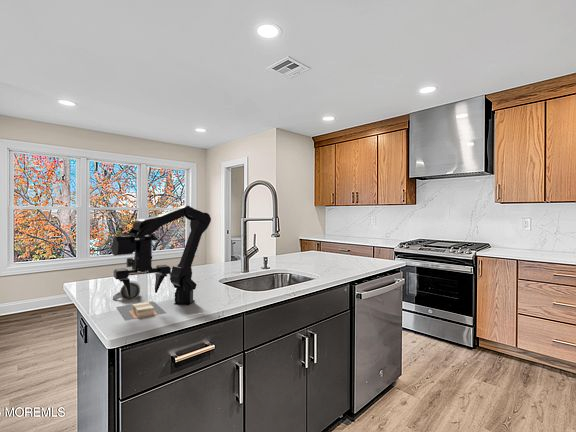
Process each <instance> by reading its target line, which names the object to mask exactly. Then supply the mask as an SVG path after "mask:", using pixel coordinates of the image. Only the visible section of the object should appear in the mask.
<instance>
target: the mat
mask: <svg viewBox="0 0 576 432" xmlns="http://www.w3.org/2000/svg"><path fill="white" fill-rule="evenodd" d="M148 302H149V303H150V304H151V305H152V306H153V307H154V314H152V315H146V316H141V317H137V315H136V314H135V313H134V312H133V303H132V304H126V305H119V306H115V307H116V310H117V311H118V312H119V314H120V315H121V317H122V318H123V320H124V321H125V322H126V321H131V320H135V319H141V318H146V317H151V316H152V317H153V316H158V315H162V314H167V312H166V311H165V310H164V309H163V308H161V306H159V305H158V304H157V303H156V301H154V300H153V301H148Z"/></svg>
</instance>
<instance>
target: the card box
mask: <svg viewBox="0 0 576 432" xmlns="http://www.w3.org/2000/svg"><path fill="white" fill-rule="evenodd" d="M149 302H150V301H144V302H140V303H134V304H133V303H132V304H133V312H134V313H135V314H136V315H137V317H141V316H146V315H152V314H154V307H153V306H152V305H151V304H150V303H149Z"/></svg>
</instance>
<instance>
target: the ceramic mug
mask: <svg viewBox="0 0 576 432" xmlns="http://www.w3.org/2000/svg"><path fill="white" fill-rule="evenodd" d="M140 293H141V286H140V284H139V282H138V281H136V280H130V297H129V296H128V294H127V291H126V288H125V285H124V284H123V285H122V286H121V288H120V291H119V292H117V293H116V294H114V295H113V296H112V299H113V300H115V301H116V300H117V301H118V300H119V299H121V298H122V299H123V300H125V301H129V299H132V300H136V299H137V298H138V297H140V296H139V295H140Z"/></svg>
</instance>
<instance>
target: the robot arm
mask: <svg viewBox="0 0 576 432" xmlns="http://www.w3.org/2000/svg"><path fill="white" fill-rule="evenodd" d="M182 218H186V219H187V220H189V227H190V228H189V229H190V232H189V235H188V238H187V240H186V243H185V247H184V249H183V252H182V255H181V258H180V260H179V262H178V264H177V265H176V266H175V265H172V267H170V266H169V265H167V264H157V265H156V267H152V265H153V264H152V261H153V256H152V255H153V247H152V246H153V244H152V243H153V241H158V238H157V237H156V236H155V235H154V234H153V233H155V232H157V231H158V230H159V229H160V228H161V227H162V226H164V225H167V224H170V223H172V222H175V221H177V220H180V219H182ZM211 221H212V218H211V215H210V214H209V213H208V212H202V211H200V210H199V209H195V208H193V207H192V206H190V205H181V206H178V207H177V208H174V209H172V210H169V211H167V212H163V213H161V214H158V215H155V216H150V217H142V218H138V219H136V220H134V222H133V224H132V228H131V229H130V230H129V232H127V234H126V235H114V236H113V240H112V242H111V244H110V249H111V253H112V255H113V256H124V255H132V254H133V253H134V259H133V257H128V258H126V268H115V269H114V270H113V278H114V279H115V280H118V281H119V282H122V284H123V285H125V288H126V291H127V294H128V296H129V297H130V281H131V280H130V278H129V276H137V275H147V274H155V281H154V283H155V284H154V293H155V294H158V291H159V288H160V286H161V284H162V282H163V281H164V279H165V278H166V277H168V275H169V281H170V283H171V284H172V286H173V288H174V289H175V292H174V303H173V305H176V306H177V305H178V306H190V305H191V304H193V303H194V302H195V301H196V300H194V290H196V287H197V285H198V284H197V283H196V282H195V281H194V280H193V279H192V276H193V271H192V264H193V261H194V259H195V256H196V253H197V250H198V247H199V245H200V241H201V238H202V235H203V233H205V232H206V230H207V229H208V228H209V226H210V223H211ZM128 268H131V269H128Z"/></svg>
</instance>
